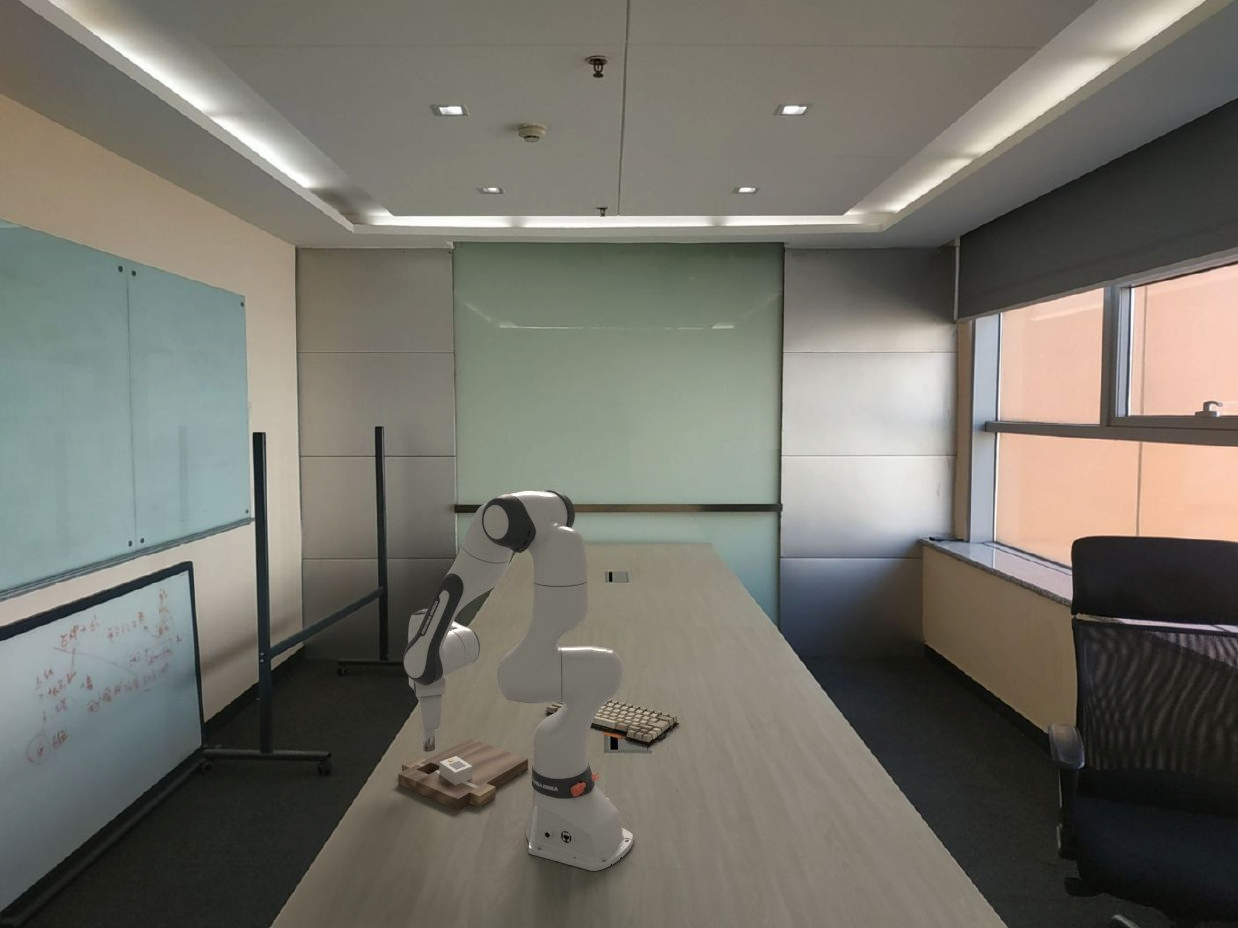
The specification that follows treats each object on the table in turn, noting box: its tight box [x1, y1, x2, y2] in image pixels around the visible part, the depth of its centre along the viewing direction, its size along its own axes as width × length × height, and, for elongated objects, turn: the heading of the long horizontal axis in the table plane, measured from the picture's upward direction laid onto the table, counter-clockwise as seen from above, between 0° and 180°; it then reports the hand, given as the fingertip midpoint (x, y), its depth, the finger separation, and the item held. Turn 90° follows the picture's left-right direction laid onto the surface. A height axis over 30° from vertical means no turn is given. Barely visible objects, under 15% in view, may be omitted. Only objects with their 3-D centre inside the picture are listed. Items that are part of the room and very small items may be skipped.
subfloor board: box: [397, 738, 529, 811], centre depth 175 cm, size 26×23×2 cm
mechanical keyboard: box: [545, 698, 680, 748], centre depth 209 cm, size 38×19×3 cm, turn 59°
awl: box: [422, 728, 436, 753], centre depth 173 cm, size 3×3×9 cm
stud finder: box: [439, 756, 472, 785], centre depth 170 cm, size 7×4×3 cm, turn 44°
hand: (429, 732), depth 173 cm, fingers closed on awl, 3 cm apart
